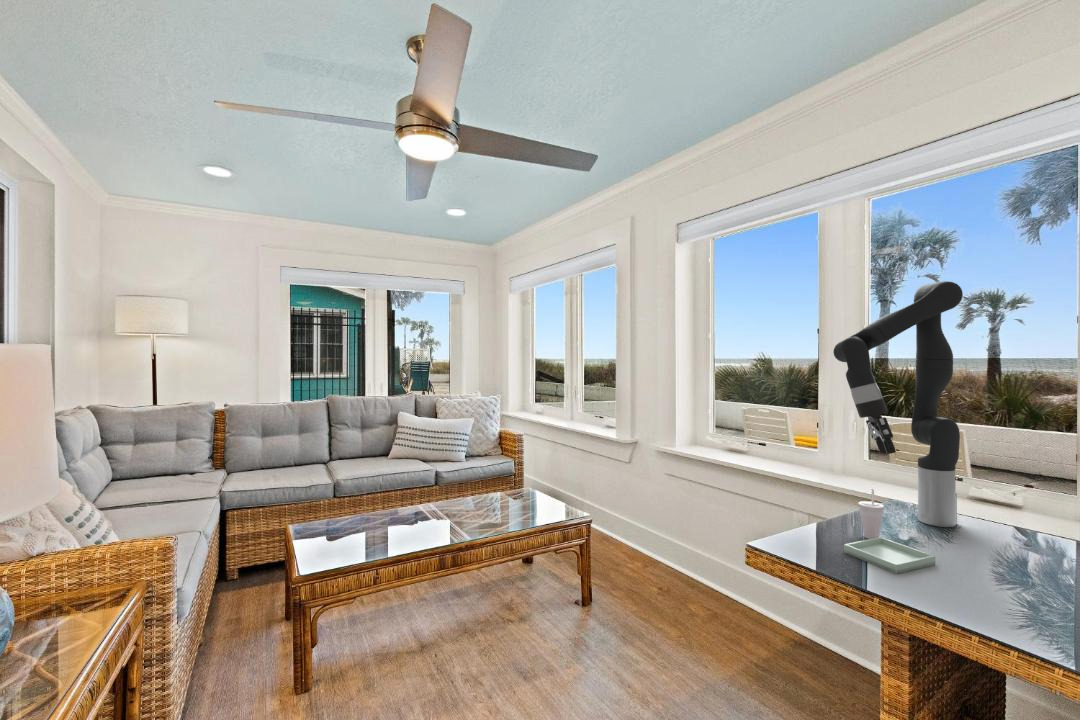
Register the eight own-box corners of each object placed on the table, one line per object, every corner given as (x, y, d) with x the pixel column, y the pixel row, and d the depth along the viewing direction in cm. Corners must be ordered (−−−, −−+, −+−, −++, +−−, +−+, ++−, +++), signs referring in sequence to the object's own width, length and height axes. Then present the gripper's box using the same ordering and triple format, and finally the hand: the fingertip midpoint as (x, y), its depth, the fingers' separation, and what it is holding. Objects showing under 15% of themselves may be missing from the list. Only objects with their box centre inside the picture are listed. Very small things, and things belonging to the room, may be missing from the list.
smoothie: (889, 541, 140) (889, 492, 140) (867, 541, 141) (866, 492, 140) (875, 533, 147) (874, 486, 147) (853, 533, 147) (852, 486, 147)
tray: (880, 544, 138) (880, 536, 138) (935, 564, 125) (935, 556, 125) (844, 552, 133) (843, 544, 133) (896, 573, 120) (896, 564, 120)
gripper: (888, 395, 144) (909, 450, 140) (876, 398, 157) (895, 449, 153) (859, 402, 146) (879, 456, 143) (850, 404, 159) (868, 454, 156)
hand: (887, 452), depth 148 cm, fingers open, 8 cm apart
